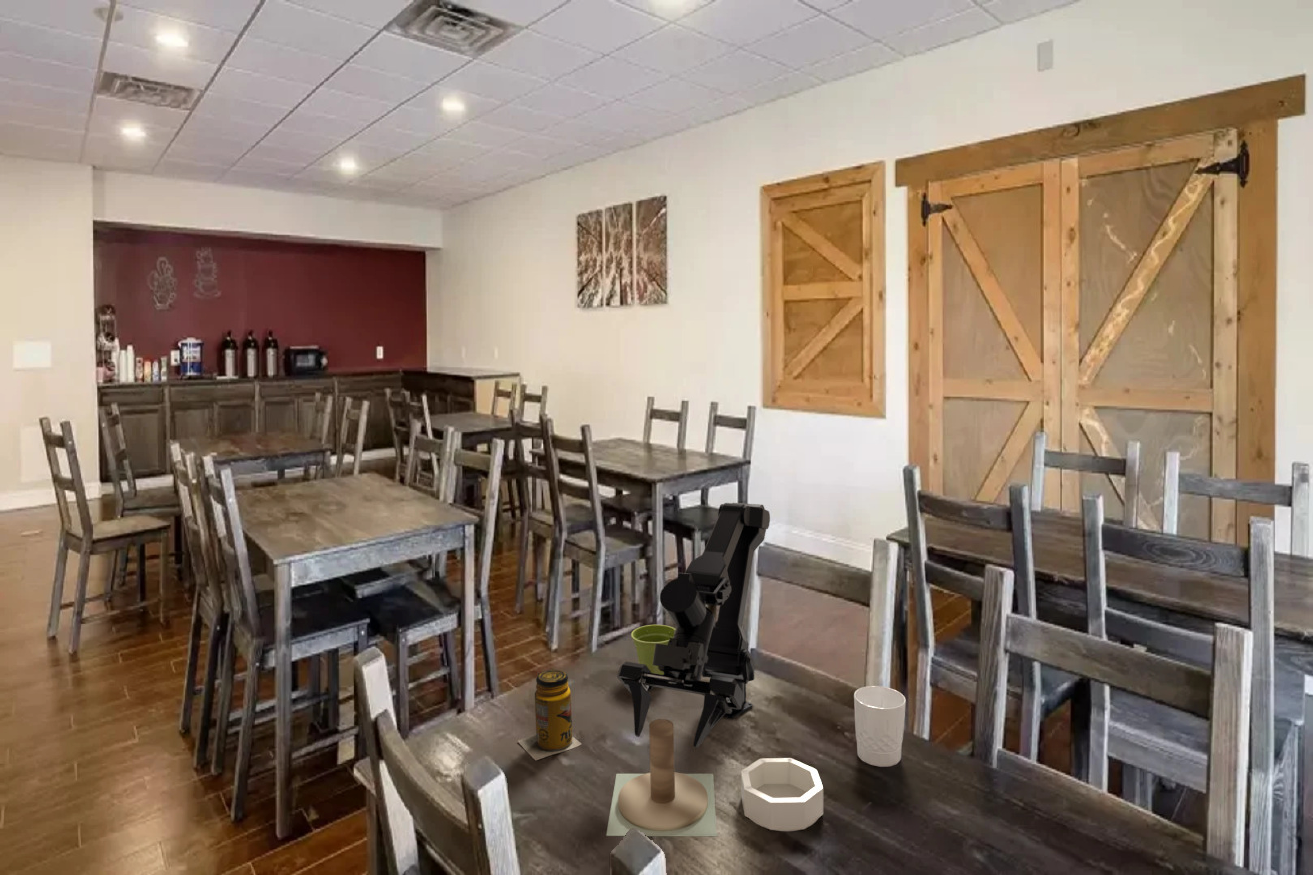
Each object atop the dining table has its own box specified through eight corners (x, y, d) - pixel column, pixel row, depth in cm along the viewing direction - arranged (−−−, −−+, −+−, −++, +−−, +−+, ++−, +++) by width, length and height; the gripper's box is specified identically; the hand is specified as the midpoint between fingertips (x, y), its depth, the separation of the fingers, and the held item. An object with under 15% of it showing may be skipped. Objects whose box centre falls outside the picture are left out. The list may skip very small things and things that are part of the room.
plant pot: (664, 688, 149) (663, 645, 148) (623, 678, 154) (622, 637, 153) (687, 670, 157) (686, 629, 156) (647, 661, 162) (646, 621, 161)
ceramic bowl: (773, 777, 118) (773, 750, 118) (835, 807, 110) (836, 778, 110) (726, 809, 110) (726, 780, 110) (790, 844, 103) (790, 812, 102)
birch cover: (663, 767, 121) (661, 695, 119) (726, 801, 112) (725, 723, 110) (599, 803, 112) (597, 726, 110) (663, 844, 103) (661, 759, 101)
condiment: (582, 745, 129) (579, 677, 127) (535, 761, 124) (532, 691, 123) (562, 727, 135) (559, 662, 133) (517, 742, 130) (514, 675, 129)
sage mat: (616, 775, 120) (616, 773, 120) (713, 775, 119) (713, 773, 119) (606, 837, 105) (606, 835, 105) (716, 838, 104) (716, 836, 104)
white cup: (907, 749, 125) (908, 690, 124) (900, 774, 118) (902, 712, 117) (858, 739, 129) (858, 682, 127) (849, 763, 122) (849, 703, 120)
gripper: (620, 611, 119) (589, 711, 110) (737, 626, 111) (713, 734, 103) (642, 642, 127) (614, 737, 118) (752, 658, 120) (731, 760, 111)
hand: (665, 741), depth 112 cm, fingers open, 9 cm apart
